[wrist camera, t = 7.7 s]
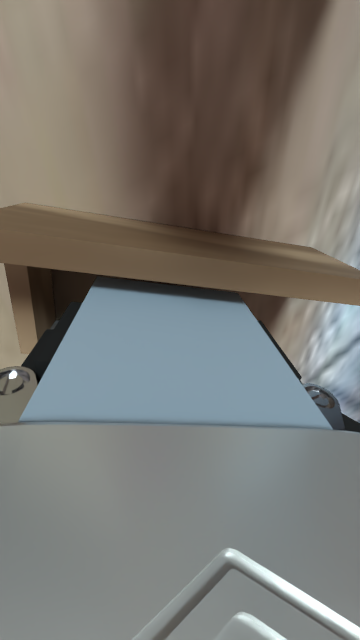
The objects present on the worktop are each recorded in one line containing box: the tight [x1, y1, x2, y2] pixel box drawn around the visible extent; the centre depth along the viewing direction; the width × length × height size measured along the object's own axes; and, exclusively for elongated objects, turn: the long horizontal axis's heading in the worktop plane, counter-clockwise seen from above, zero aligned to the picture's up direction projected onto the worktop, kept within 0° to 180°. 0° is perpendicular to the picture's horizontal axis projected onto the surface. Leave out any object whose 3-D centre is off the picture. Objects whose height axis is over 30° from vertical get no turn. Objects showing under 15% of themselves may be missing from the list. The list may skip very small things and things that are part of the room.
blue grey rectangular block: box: [18, 276, 333, 430], centre depth 10 cm, size 4×7×8 cm, turn 81°
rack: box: [0, 203, 360, 354], centre depth 15 cm, size 11×17×6 cm, turn 81°
